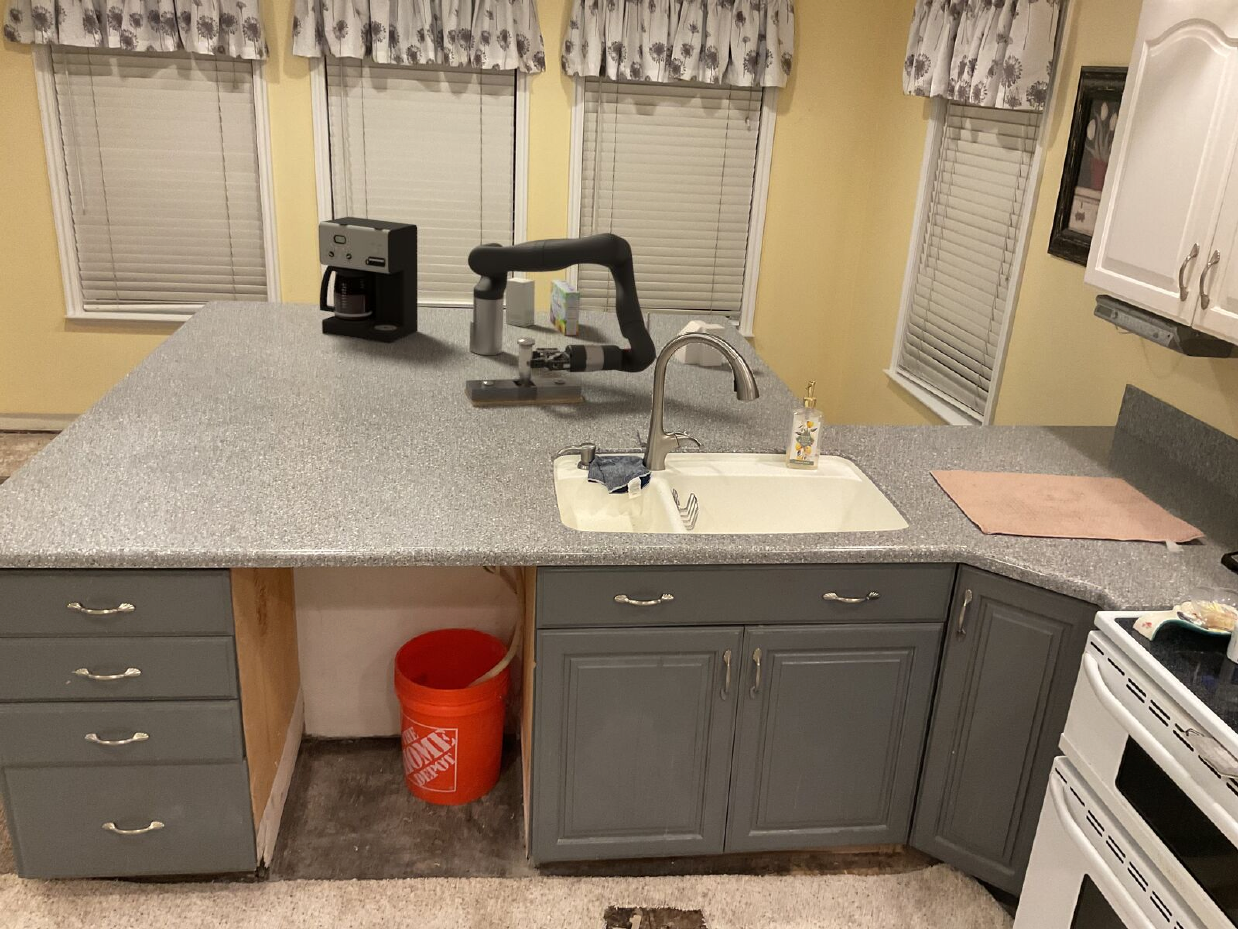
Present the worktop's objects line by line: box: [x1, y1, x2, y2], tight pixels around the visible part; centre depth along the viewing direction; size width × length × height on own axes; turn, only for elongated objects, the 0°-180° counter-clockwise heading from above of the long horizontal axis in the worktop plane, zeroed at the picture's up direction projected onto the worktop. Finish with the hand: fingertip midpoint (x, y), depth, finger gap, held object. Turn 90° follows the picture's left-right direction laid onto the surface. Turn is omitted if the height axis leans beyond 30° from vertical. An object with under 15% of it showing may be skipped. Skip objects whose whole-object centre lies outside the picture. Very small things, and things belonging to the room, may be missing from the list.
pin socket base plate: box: [463, 376, 584, 407], centre depth 274 cm, size 30×12×5 cm, turn 109°
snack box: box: [549, 279, 581, 337], centre depth 348 cm, size 21×6×15 cm, turn 17°
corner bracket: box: [674, 319, 726, 367], centre depth 320 cm, size 11×11×12 cm
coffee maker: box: [318, 216, 419, 344], centre depth 322 cm, size 28×20×35 cm
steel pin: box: [516, 337, 536, 386], centre depth 271 cm, size 5×5×15 cm
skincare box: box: [505, 276, 536, 328], centre depth 349 cm, size 8×7×16 cm
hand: (526, 359), depth 271 cm, fingers open, 8 cm apart
